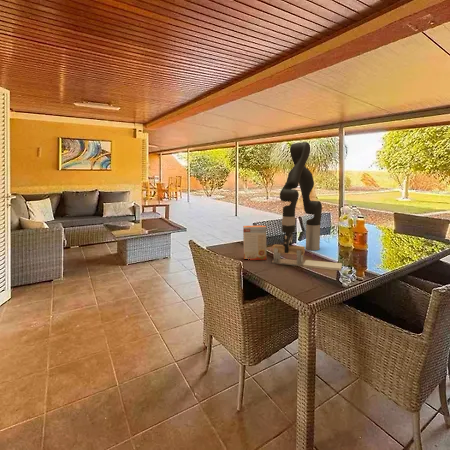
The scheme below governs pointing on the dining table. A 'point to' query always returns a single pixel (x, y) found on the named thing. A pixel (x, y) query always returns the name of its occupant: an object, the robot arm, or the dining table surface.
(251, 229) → the cracker box
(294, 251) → the rail
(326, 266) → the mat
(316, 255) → the dining table surface
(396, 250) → the dining table surface
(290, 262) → the standards
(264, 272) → the dining table surface
